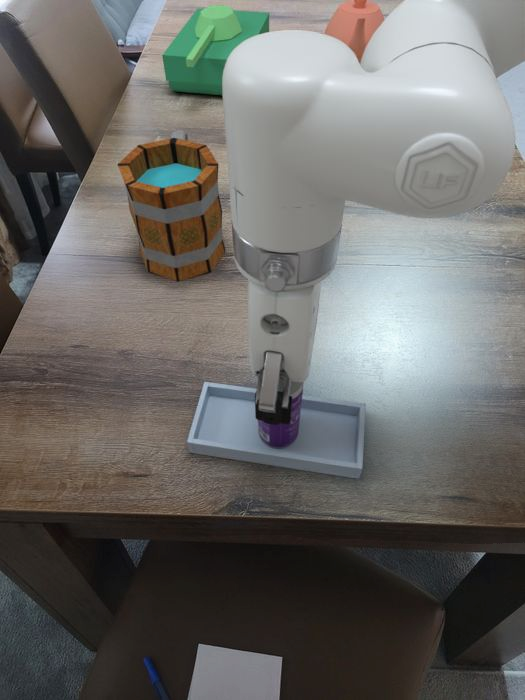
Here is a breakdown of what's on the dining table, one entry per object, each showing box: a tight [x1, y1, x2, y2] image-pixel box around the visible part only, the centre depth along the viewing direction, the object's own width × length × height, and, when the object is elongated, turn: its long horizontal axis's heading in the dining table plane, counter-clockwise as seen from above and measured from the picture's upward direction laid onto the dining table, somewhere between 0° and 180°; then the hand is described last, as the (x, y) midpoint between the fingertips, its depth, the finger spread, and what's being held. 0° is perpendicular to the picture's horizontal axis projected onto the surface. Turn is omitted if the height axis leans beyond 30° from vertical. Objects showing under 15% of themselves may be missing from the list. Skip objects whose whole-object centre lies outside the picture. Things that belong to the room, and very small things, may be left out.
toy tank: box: [161, 4, 270, 96], centre depth 109 cm, size 18×12×35 cm
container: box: [256, 361, 305, 449], centre depth 51 cm, size 5×5×15 cm
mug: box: [117, 129, 227, 282], centre depth 73 cm, size 20×14×15 cm
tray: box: [186, 381, 366, 480], centre depth 56 cm, size 19×8×3 cm, turn 80°
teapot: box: [323, 0, 385, 63], centre depth 116 cm, size 22×16×12 cm
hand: (280, 376), depth 48 cm, fingers open, 9 cm apart
